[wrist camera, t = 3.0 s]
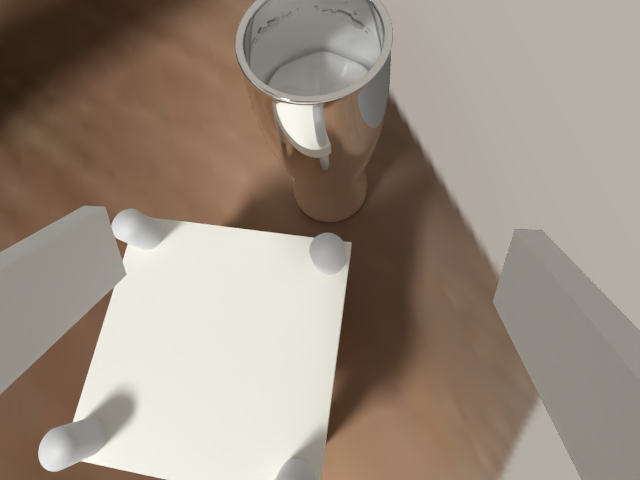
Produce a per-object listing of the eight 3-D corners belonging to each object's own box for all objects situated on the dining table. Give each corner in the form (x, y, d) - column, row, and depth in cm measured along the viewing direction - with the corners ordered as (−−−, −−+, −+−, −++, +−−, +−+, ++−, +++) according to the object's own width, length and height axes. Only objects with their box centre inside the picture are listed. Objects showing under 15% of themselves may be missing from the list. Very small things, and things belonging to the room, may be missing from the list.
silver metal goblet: (360, 142, 30) (372, -46, 15) (382, 216, 28) (421, 81, 13) (281, 161, 30) (218, -7, 15) (297, 237, 28) (243, 125, 13)
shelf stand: (145, 423, 25) (27, 471, 16) (190, 247, 28) (115, 203, 19) (326, 458, 23) (311, 534, 14) (350, 268, 27) (351, 231, 18)
